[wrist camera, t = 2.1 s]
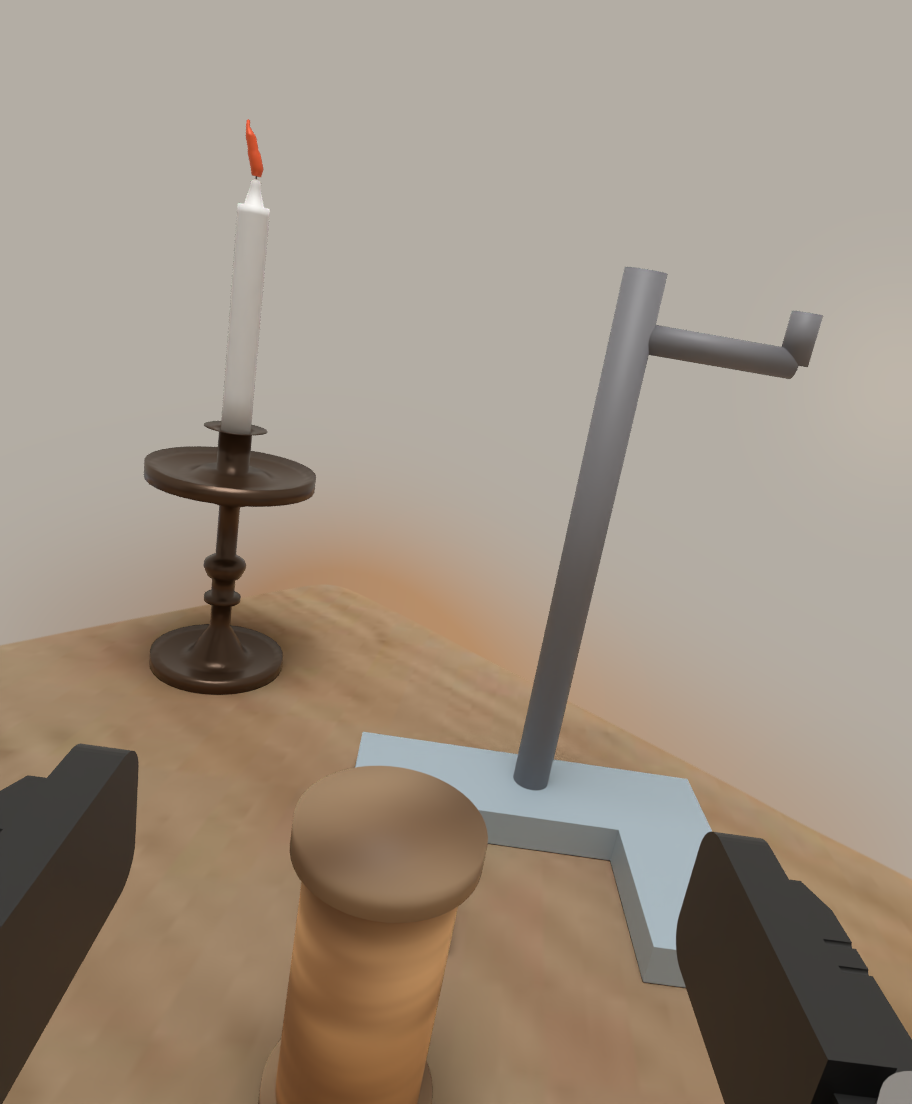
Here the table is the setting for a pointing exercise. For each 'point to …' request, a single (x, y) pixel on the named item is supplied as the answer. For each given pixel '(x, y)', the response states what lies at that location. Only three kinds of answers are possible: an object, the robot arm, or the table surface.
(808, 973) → the robot arm
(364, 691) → the table surface
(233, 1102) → the table surface
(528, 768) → the hook stand
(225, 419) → the candlestick
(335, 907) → the cord spool
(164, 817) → the table surface
